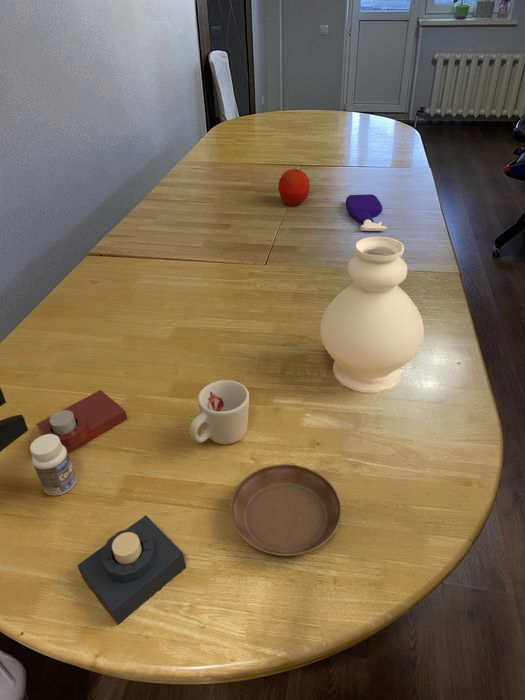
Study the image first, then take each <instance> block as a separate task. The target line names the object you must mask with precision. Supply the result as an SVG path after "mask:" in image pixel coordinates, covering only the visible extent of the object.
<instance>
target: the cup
mask: <svg viewBox="0 0 525 700" xmlns="http://www.w3.org/2000/svg"><path fill="white" fill-rule="evenodd" d="M197 404H198V405H197V406H198V408H199V412H200V413H199V414H198V415H197V416H195V417H194V419H193V420H192V421H191V422H190V425H189V434H190V437H191V439H192V440H193V441H195V442H196V443H198V444H200V443H204V442H205V441H207V440H208V439H210V440H211V441H212V442H214V443H216V444H219V445H231V444H235V443H237V442H239V441H240V440H242V439H243V438H244V437H245V435H246V433H247V430H248V423H249V411H250V410H249V409H250V407H249V406H250V392H249V390H248V388H247V387H246V386H245V385H244V384H243V383H240V382H238V381H235V380H229V379H222V380H221V379H220V380H216V381H213V382H211V383H208V384H207V385H205V386H204V387H202V389H201V390H200V391H199V393H198V395H197ZM202 424H203V429H202V431H201V433H200V434H198V433H199V431H198V430H199V428H200V426H202Z"/></svg>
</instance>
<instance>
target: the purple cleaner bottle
mask: <svg viewBox="0 0 525 700" xmlns="http://www.w3.org/2000/svg"><path fill="white" fill-rule="evenodd" d="M345 209H346V212H347V213H348V215H349V217H350V218H351V219H352V220H355V221H356V223H359V224H360V226H359V230H360V231H363V232H364V231H365V232H378V231H379V232H381V231H387V229H388V226H387V225H386V226H385V225H382V224H383V221H379V222H378V223H376V222H375V221H374V219H373V218H375V217H379V215H381V214H382V212H383V204H382V203H381V201H380V200H379V198H378V197H377V196H376V195H375V194H372V193H371V194H370V193H369V194H366V193H365V194H349V195H348V196H347V197H346V198H345Z"/></svg>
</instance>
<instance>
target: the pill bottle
mask: <svg viewBox="0 0 525 700" xmlns="http://www.w3.org/2000/svg"><path fill="white" fill-rule="evenodd" d="M29 450H30V453H31V455H32V457H31V463H32V465H33V468H34V470H35V472H36V475H37V477H38V479H39V482H40V484H41V487H42V489H43V491H44V492H45V493H46V495H49V496H53V497H54V496H61V495H64V494H66V493H68V492H69V491H71V490H72V489H73V487H74V486H75V484H76V482H77V475H76V472H75V470H74V467H73V464H72V462H71V459H70V456H69V454H68V453H67V450H66V448H65V447H64V446H63V445H62V444H61V441H60V439H59V437H58V436H56V435H54V434H46V435H43V436H42V435H40V436H39V437H36V438H35V439H34V440H33V441H32V442H31V444H30V446H29Z"/></svg>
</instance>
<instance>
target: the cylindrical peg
mask: <svg viewBox="0 0 525 700" xmlns="http://www.w3.org/2000/svg"><path fill="white" fill-rule="evenodd" d="M112 551H113V553H114V556H115V559H116V560H117V562H119V563H121V564H130V563H132V562H134V561H136V560H137V559H138V558H139V556H140V554H141V551H142V548H141V544H140V541H139V538H138V536H137V535H136V534H134V533H132V532H126V533H122V534H120V535H119V536H117V537H116V538H115V540H114V541H113V544H112Z"/></svg>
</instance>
